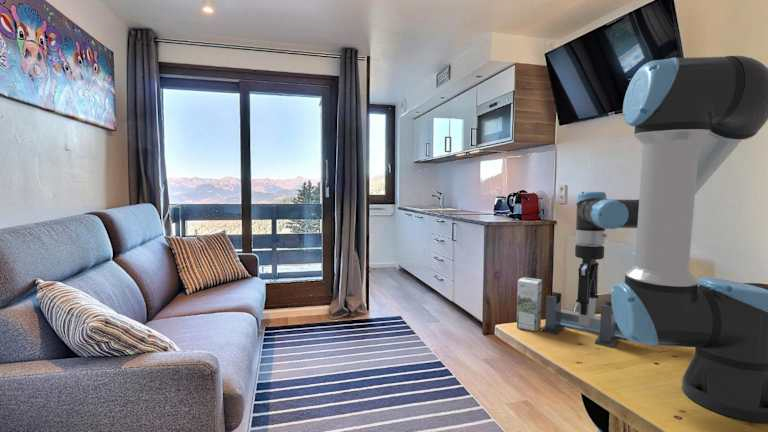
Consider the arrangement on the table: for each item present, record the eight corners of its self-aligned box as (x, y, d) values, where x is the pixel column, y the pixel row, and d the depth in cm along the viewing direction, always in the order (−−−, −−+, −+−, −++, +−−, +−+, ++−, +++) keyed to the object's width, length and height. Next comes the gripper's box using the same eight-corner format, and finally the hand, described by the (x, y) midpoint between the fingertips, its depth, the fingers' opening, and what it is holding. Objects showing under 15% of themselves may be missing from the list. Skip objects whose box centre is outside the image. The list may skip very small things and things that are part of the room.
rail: (624, 335, 109) (624, 324, 109) (549, 319, 122) (549, 310, 122) (626, 331, 112) (627, 321, 112) (553, 316, 125) (553, 307, 124)
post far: (557, 334, 111) (558, 298, 110) (541, 331, 114) (542, 295, 113) (564, 328, 116) (565, 293, 115) (548, 324, 119) (550, 290, 118)
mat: (625, 339, 107) (625, 337, 107) (545, 322, 121) (545, 321, 121) (629, 331, 113) (629, 329, 113) (553, 316, 127) (553, 314, 127)
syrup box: (541, 326, 117) (542, 278, 116) (536, 332, 112) (537, 282, 111) (521, 323, 120) (522, 276, 119) (515, 328, 116) (517, 279, 115)
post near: (613, 347, 102) (615, 308, 101) (595, 343, 105) (596, 305, 104) (618, 339, 107) (620, 302, 106) (600, 335, 110) (602, 299, 109)
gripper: (596, 249, 106) (593, 333, 107) (610, 242, 120) (607, 316, 122) (566, 246, 110) (564, 327, 112) (583, 240, 125) (581, 311, 126)
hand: (586, 321), depth 117 cm, fingers open, 6 cm apart
